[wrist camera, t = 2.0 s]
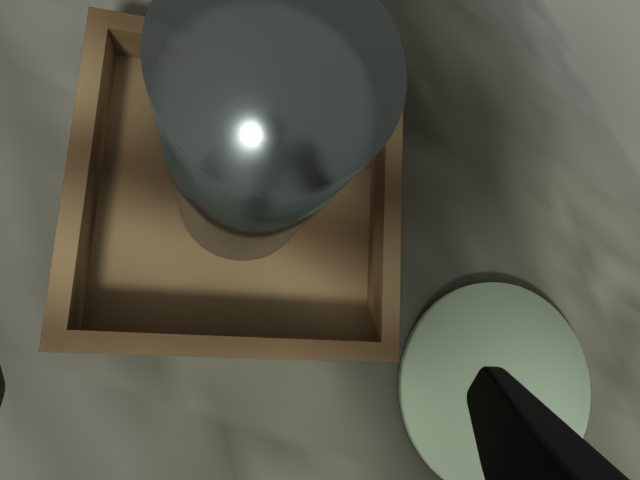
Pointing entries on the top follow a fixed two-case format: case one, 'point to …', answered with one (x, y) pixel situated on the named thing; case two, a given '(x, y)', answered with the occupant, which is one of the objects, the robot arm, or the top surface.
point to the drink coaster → (476, 352)
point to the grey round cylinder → (268, 109)
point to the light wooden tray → (193, 260)
